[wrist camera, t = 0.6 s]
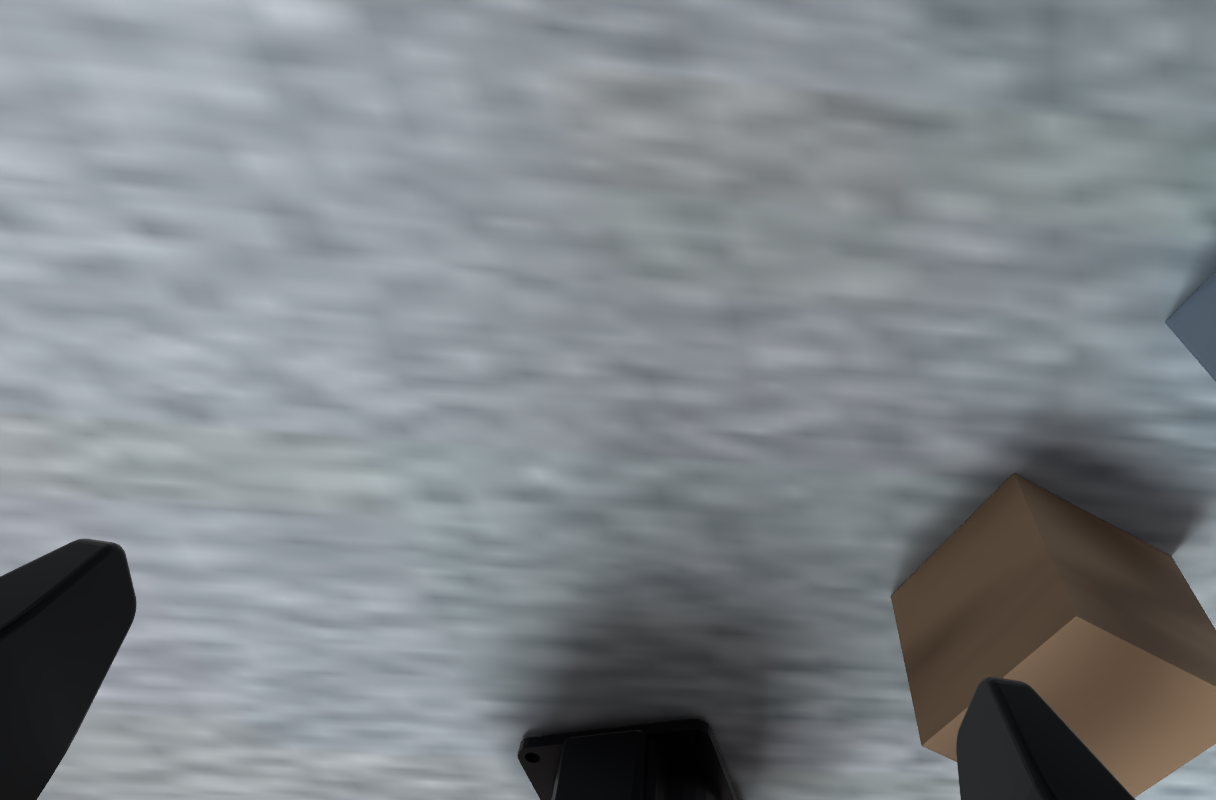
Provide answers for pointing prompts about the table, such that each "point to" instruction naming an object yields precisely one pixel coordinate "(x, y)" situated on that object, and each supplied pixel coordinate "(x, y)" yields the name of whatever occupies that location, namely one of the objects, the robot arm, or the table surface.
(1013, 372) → the table surface
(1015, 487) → the walnut cube
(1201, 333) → the blue cube
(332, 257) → the table surface
